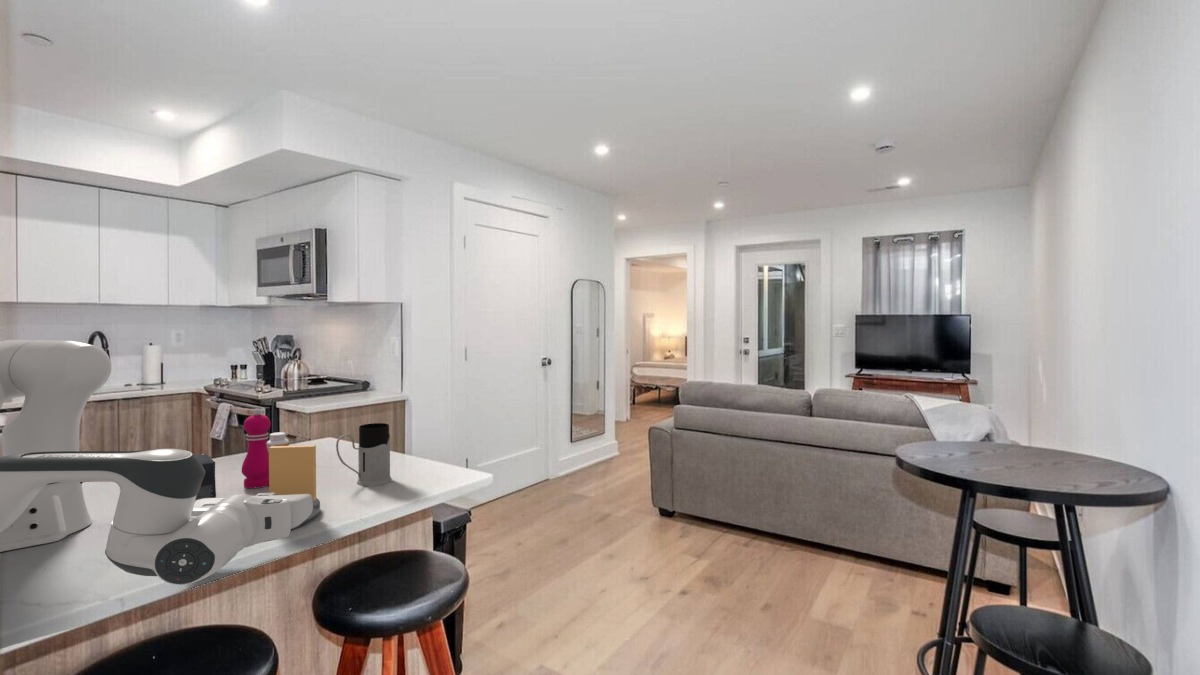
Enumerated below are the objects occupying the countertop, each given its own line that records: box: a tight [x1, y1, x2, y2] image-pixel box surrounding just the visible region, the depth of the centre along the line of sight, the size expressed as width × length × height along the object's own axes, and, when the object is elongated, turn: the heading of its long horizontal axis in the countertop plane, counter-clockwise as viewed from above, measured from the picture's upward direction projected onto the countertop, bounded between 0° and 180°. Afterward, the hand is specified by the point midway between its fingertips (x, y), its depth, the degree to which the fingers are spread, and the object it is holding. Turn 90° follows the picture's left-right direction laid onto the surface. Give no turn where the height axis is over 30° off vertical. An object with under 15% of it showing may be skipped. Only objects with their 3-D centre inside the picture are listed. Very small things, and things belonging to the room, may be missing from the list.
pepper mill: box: [241, 408, 272, 489], centre depth 146 cm, size 7×7×20 cm
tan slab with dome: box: [268, 444, 317, 501], centre depth 122 cm, size 14×7×14 cm, turn 100°
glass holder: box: [335, 422, 393, 487], centre depth 148 cm, size 9×14×15 cm, turn 136°
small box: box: [193, 453, 217, 501], centre depth 132 cm, size 11×6×10 cm, turn 45°
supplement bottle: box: [267, 431, 290, 452], centre depth 161 cm, size 6×6×10 cm
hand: (267, 496), depth 111 cm, fingers closed
